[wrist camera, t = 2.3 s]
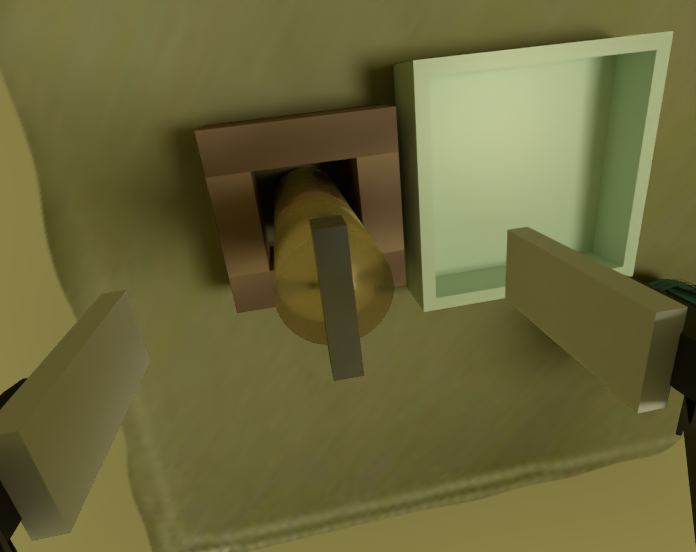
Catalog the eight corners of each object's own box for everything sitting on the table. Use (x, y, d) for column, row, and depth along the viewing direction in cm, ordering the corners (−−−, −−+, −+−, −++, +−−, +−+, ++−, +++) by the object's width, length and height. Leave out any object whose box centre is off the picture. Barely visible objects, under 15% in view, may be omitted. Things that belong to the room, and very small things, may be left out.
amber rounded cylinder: (266, 161, 26) (258, 238, 12) (333, 152, 27) (398, 217, 13) (281, 243, 28) (288, 389, 14) (342, 234, 29) (407, 367, 15)
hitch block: (206, 125, 25) (194, 131, 21) (378, 104, 26) (395, 106, 22) (241, 285, 29) (237, 313, 25) (390, 261, 30) (406, 285, 26)
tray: (392, 64, 25) (413, 60, 22) (618, 39, 27) (673, 30, 23) (405, 285, 31) (423, 312, 27) (591, 255, 32) (632, 276, 28)
